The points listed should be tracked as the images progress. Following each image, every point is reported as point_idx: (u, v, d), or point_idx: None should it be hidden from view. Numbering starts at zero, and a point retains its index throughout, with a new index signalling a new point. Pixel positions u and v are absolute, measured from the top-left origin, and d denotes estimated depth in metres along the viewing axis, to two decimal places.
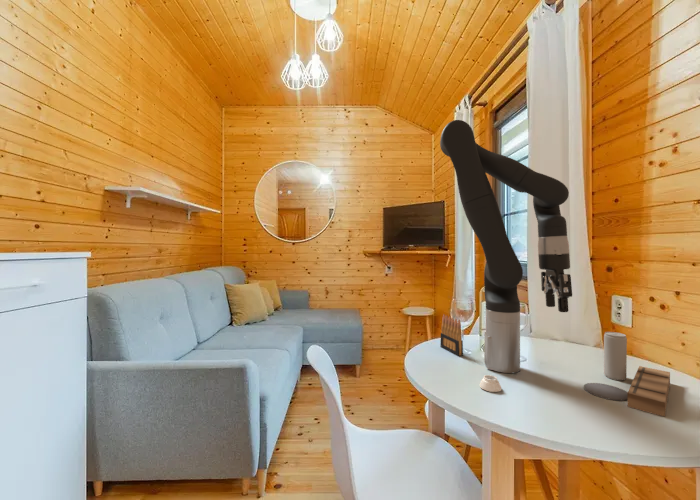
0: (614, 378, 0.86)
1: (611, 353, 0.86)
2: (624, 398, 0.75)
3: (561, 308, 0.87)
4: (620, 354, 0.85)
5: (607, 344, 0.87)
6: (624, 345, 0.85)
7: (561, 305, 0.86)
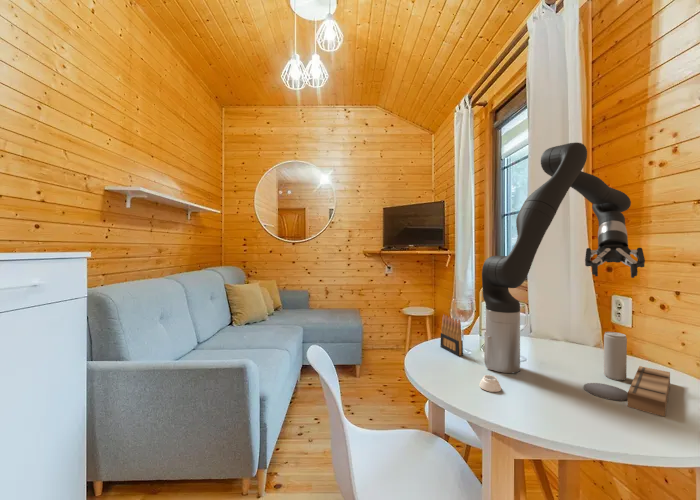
0: (614, 378, 0.86)
1: (611, 353, 0.86)
2: (624, 398, 0.75)
3: (635, 271, 0.94)
4: (620, 354, 0.85)
5: (607, 344, 0.87)
6: (624, 345, 0.85)
7: (635, 269, 0.94)
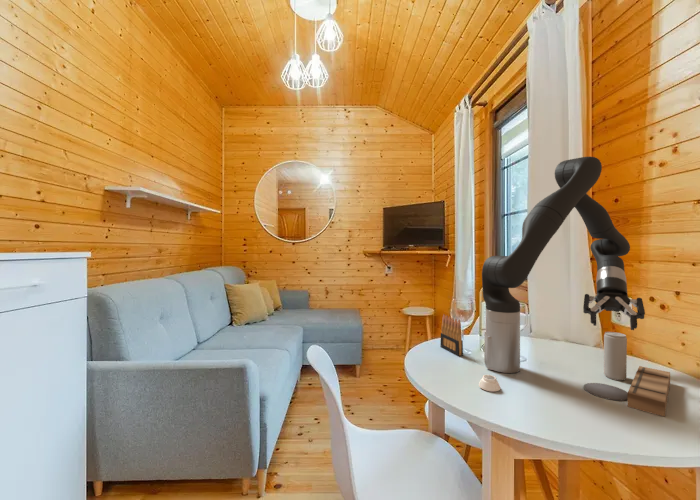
0: (614, 378, 0.86)
1: (611, 353, 0.86)
2: (624, 398, 0.75)
3: (635, 324, 0.91)
4: (620, 354, 0.85)
5: (607, 344, 0.87)
6: (624, 345, 0.85)
7: (635, 322, 0.91)
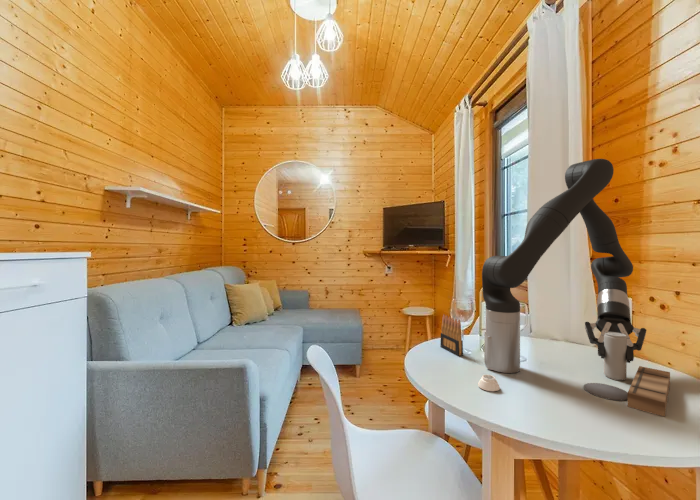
0: (614, 378, 0.86)
1: (611, 353, 0.86)
2: (624, 398, 0.75)
3: (632, 356, 0.84)
4: (620, 354, 0.85)
5: (607, 344, 0.87)
6: (624, 345, 0.85)
7: (632, 354, 0.85)
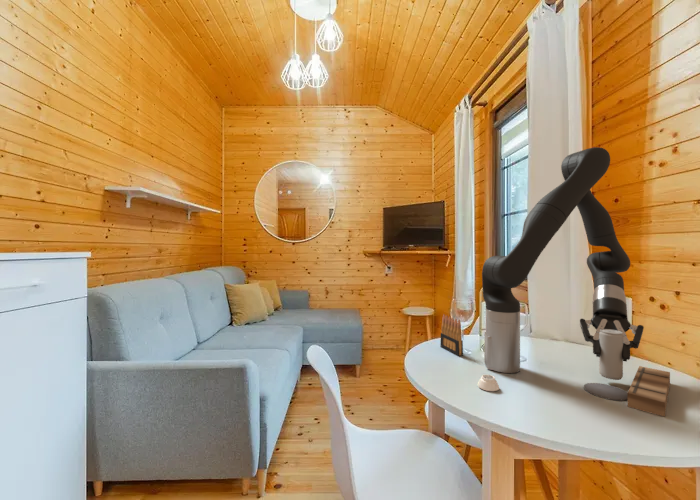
0: (610, 377, 0.82)
1: (607, 351, 0.82)
2: (624, 398, 0.75)
3: (628, 355, 0.80)
4: (616, 352, 0.81)
5: (603, 341, 0.83)
6: (620, 343, 0.81)
7: (628, 352, 0.81)
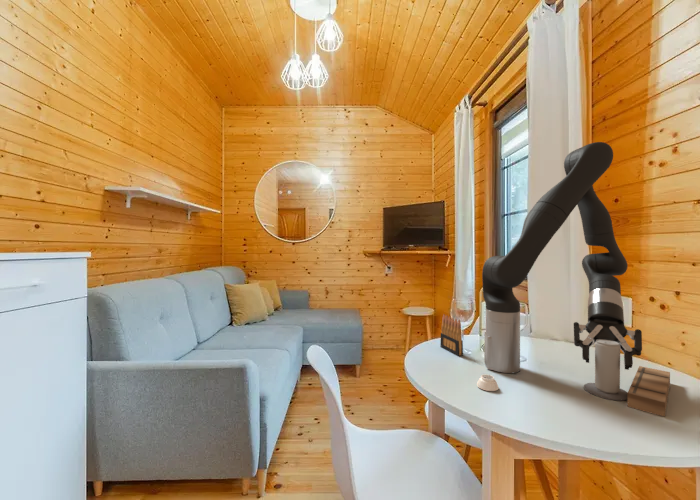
0: (606, 391, 0.77)
1: (603, 363, 0.78)
2: (624, 398, 0.75)
3: (630, 363, 0.75)
4: (613, 365, 0.76)
5: (599, 353, 0.78)
6: (617, 354, 0.76)
7: (630, 359, 0.75)
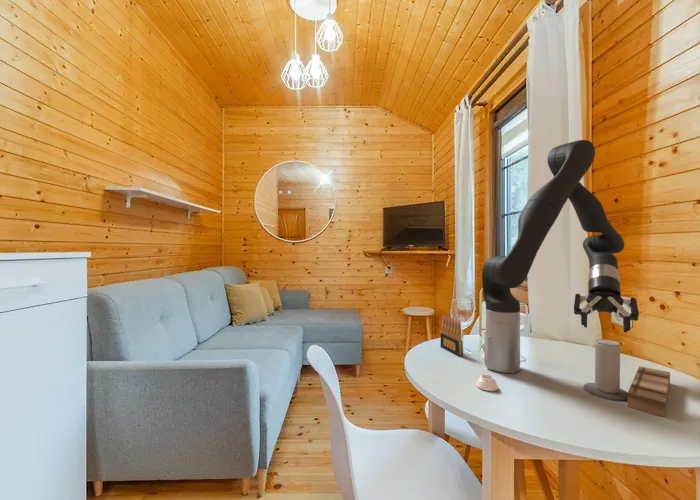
0: (606, 391, 0.77)
1: (603, 363, 0.78)
2: (624, 398, 0.75)
3: (628, 326, 0.84)
4: (613, 365, 0.76)
5: (599, 353, 0.78)
6: (617, 354, 0.76)
7: (628, 323, 0.85)
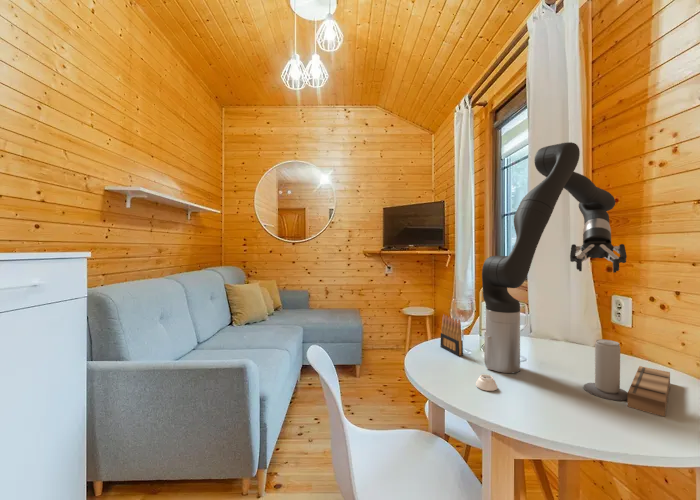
0: (606, 391, 0.77)
1: (603, 363, 0.78)
2: (624, 398, 0.75)
3: (617, 266, 0.97)
4: (613, 365, 0.76)
5: (599, 353, 0.78)
6: (617, 354, 0.76)
7: (617, 264, 0.97)
